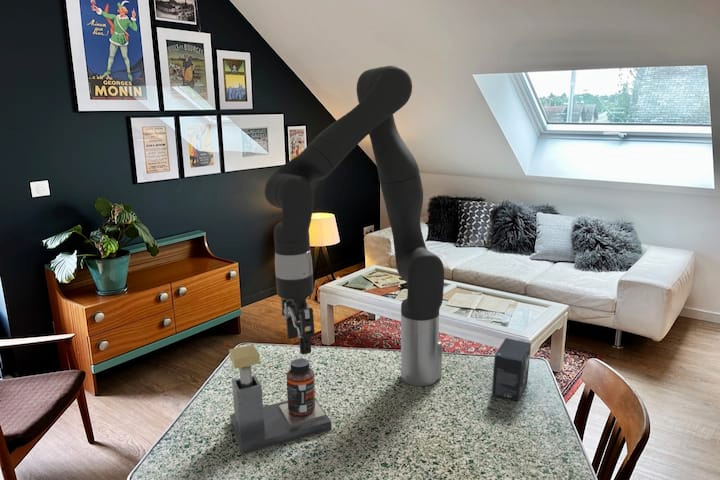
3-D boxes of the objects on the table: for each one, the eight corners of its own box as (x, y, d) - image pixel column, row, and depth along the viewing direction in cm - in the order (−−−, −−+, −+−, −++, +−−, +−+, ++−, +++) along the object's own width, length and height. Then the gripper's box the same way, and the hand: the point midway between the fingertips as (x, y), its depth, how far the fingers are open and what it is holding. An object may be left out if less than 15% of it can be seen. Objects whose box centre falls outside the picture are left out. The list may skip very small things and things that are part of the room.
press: (312, 402, 127) (310, 355, 124) (331, 429, 117) (329, 378, 114) (230, 423, 120) (226, 373, 117) (242, 454, 109) (238, 400, 106)
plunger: (257, 396, 117) (253, 344, 114) (263, 407, 113) (259, 354, 110) (233, 401, 115) (229, 349, 112) (238, 413, 111) (234, 359, 108)
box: (519, 402, 126) (521, 360, 123) (490, 395, 129) (492, 354, 126) (529, 381, 135) (531, 342, 132) (502, 375, 138) (504, 337, 135)
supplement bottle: (310, 418, 116) (308, 370, 113) (284, 415, 117) (281, 367, 115) (318, 403, 122) (316, 357, 119) (293, 400, 123) (290, 354, 120)
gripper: (324, 279, 107) (328, 355, 111) (300, 260, 119) (304, 329, 123) (286, 285, 104) (292, 363, 108) (266, 265, 116) (272, 336, 120)
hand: (299, 345), depth 116 cm, fingers open, 8 cm apart
